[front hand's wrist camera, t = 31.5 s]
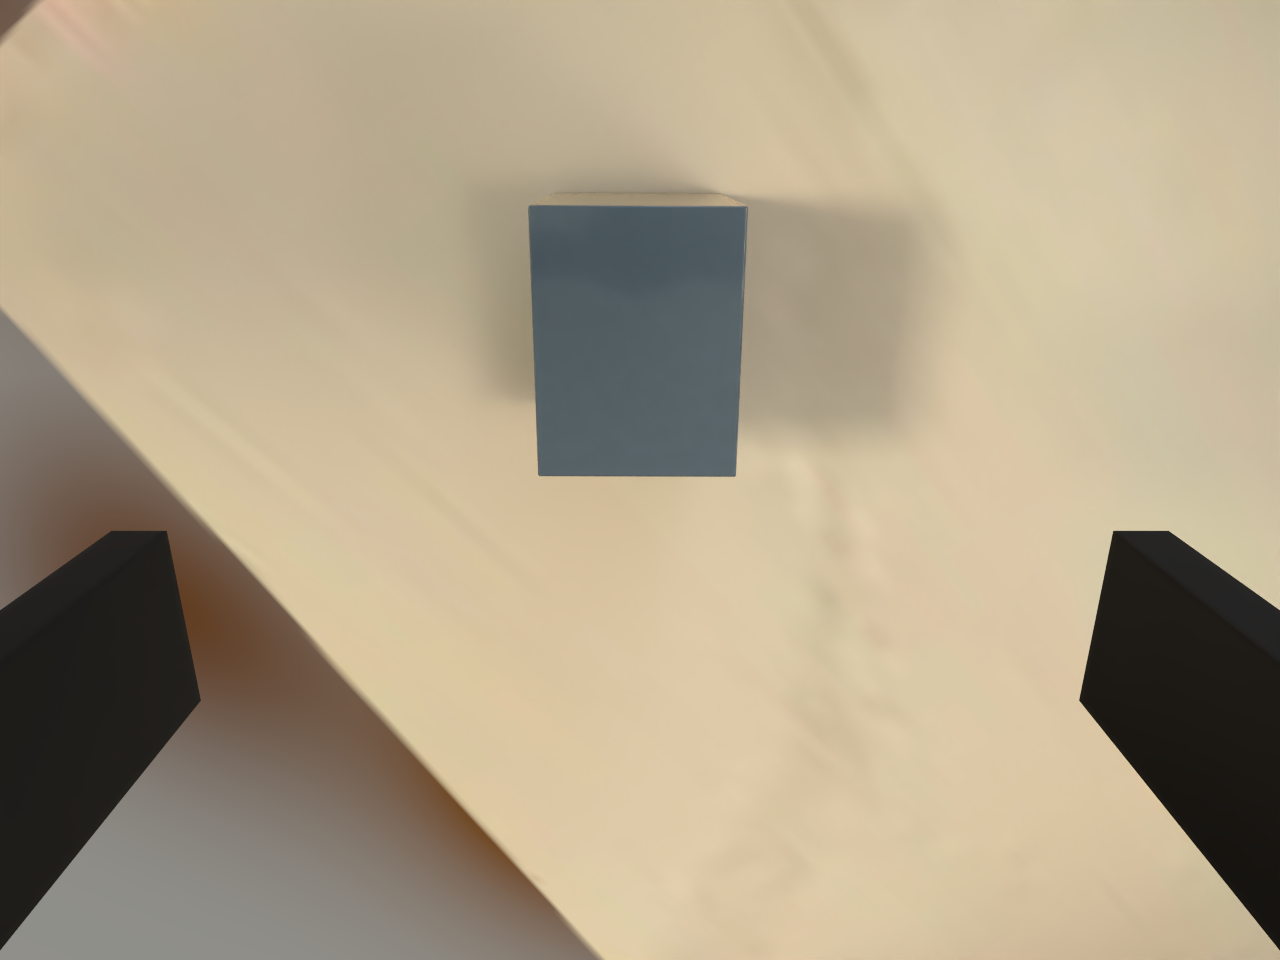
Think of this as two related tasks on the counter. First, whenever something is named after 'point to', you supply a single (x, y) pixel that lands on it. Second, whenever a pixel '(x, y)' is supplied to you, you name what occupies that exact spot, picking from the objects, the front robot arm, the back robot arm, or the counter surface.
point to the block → (637, 332)
